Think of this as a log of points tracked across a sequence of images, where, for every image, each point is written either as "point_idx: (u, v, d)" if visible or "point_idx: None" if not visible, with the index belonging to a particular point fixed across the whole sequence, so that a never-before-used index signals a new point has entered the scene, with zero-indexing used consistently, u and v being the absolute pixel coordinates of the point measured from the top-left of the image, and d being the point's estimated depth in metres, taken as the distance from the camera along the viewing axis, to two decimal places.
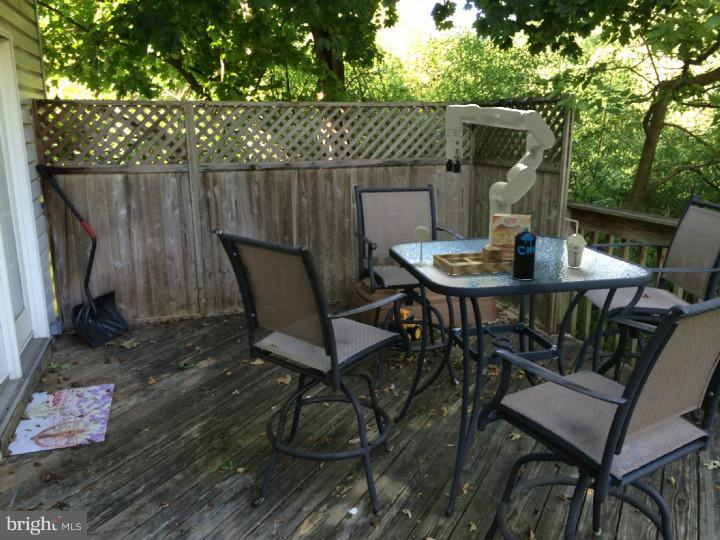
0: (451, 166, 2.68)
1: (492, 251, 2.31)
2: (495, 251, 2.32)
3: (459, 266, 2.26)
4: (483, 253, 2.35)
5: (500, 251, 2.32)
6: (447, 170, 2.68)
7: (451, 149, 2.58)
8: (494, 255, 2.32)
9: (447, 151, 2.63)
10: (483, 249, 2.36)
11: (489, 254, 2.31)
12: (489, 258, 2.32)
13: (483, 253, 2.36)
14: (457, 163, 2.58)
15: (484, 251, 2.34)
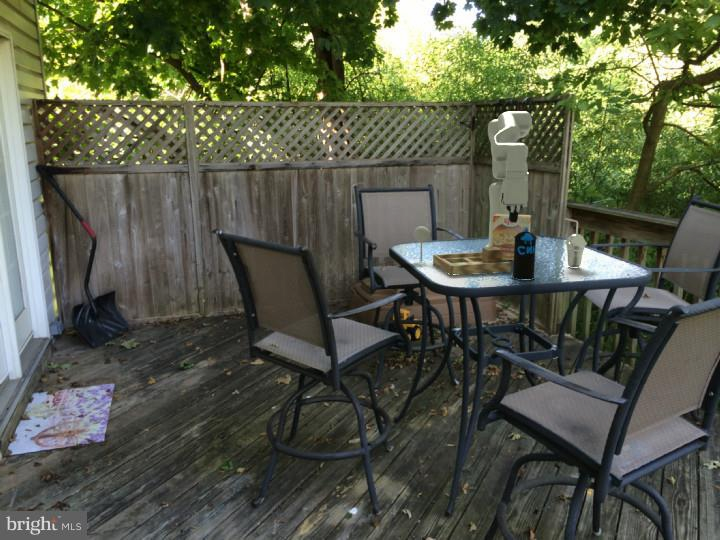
0: None
1: (492, 251, 2.31)
2: (495, 251, 2.32)
3: (459, 266, 2.26)
4: (483, 253, 2.35)
5: (500, 251, 2.32)
6: None
7: (525, 193, 2.29)
8: (494, 255, 2.32)
9: (513, 196, 2.29)
10: (483, 249, 2.36)
11: (489, 254, 2.31)
12: (489, 258, 2.32)
13: (483, 253, 2.36)
14: None
15: (484, 251, 2.34)
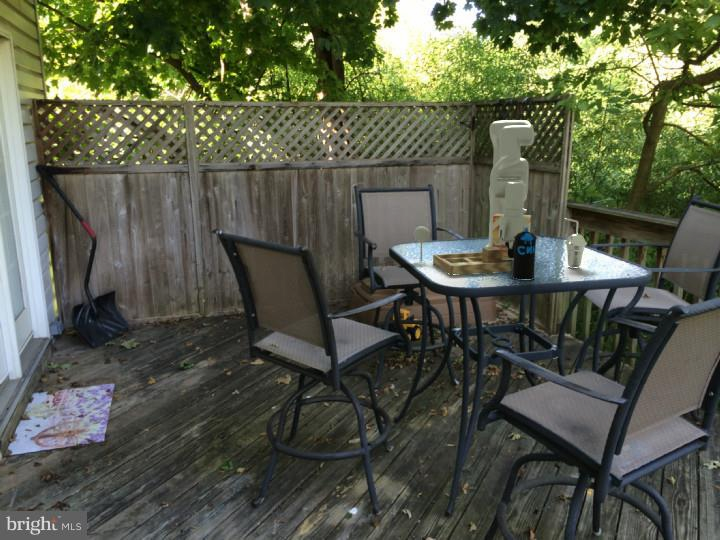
0: None
1: (492, 251, 2.31)
2: (495, 251, 2.32)
3: (459, 266, 2.26)
4: (483, 253, 2.35)
5: (500, 251, 2.32)
6: None
7: None
8: (494, 255, 2.32)
9: (511, 233, 2.32)
10: (483, 249, 2.36)
11: (489, 254, 2.31)
12: (489, 258, 2.32)
13: (483, 253, 2.36)
14: None
15: (484, 251, 2.34)
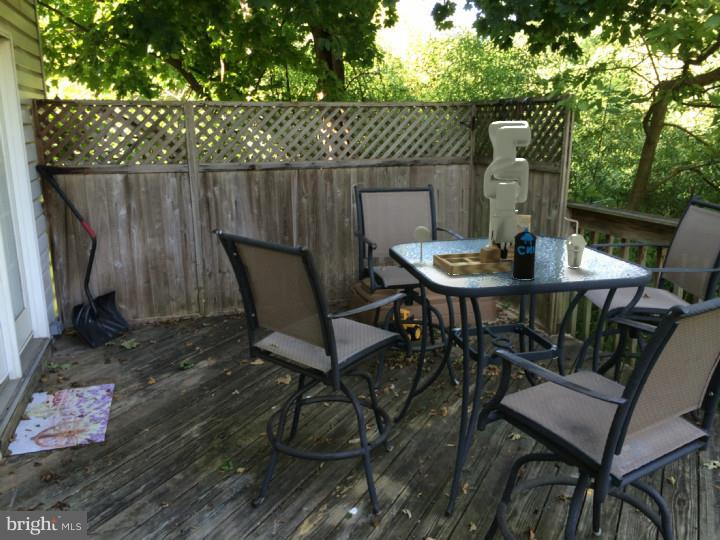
0: None
1: (490, 251, 2.31)
2: (493, 251, 2.31)
3: (459, 266, 2.26)
4: (482, 253, 2.35)
5: (498, 251, 2.32)
6: None
7: (514, 231, 2.32)
8: (492, 255, 2.32)
9: (503, 234, 2.31)
10: (481, 249, 2.35)
11: (487, 254, 2.31)
12: (487, 258, 2.31)
13: (481, 253, 2.36)
14: None
15: (483, 251, 2.34)
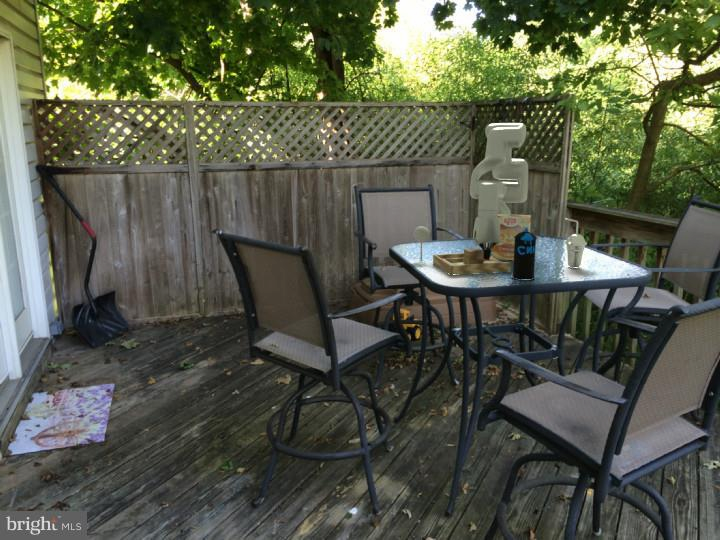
0: None
1: (473, 252, 2.29)
2: (476, 252, 2.30)
3: (459, 266, 2.26)
4: (465, 254, 2.33)
5: (481, 252, 2.30)
6: None
7: (497, 231, 2.30)
8: (475, 256, 2.30)
9: (486, 234, 2.30)
10: (464, 250, 2.34)
11: (470, 255, 2.29)
12: (470, 259, 2.30)
13: (464, 254, 2.34)
14: None
15: (466, 252, 2.32)
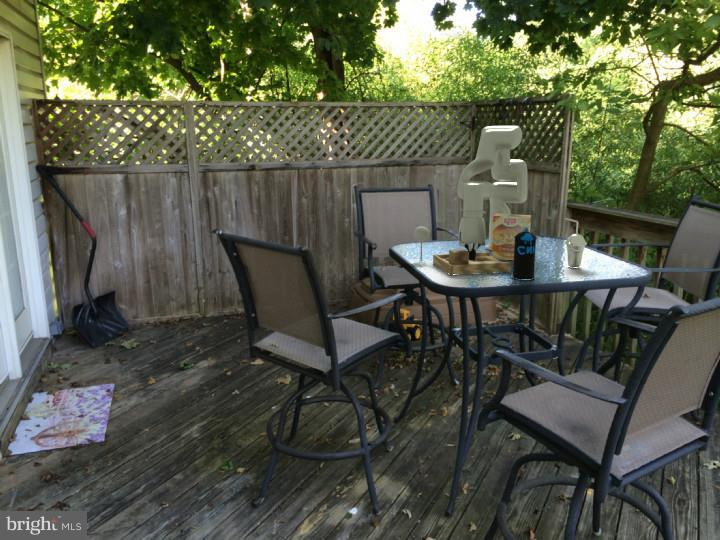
0: None
1: (458, 253, 2.28)
2: (461, 253, 2.28)
3: (459, 266, 2.26)
4: (450, 255, 2.32)
5: (467, 253, 2.29)
6: None
7: (482, 232, 2.29)
8: (460, 257, 2.29)
9: (471, 235, 2.28)
10: (450, 251, 2.32)
11: (455, 256, 2.28)
12: (455, 260, 2.28)
13: (450, 255, 2.32)
14: None
15: (451, 253, 2.31)
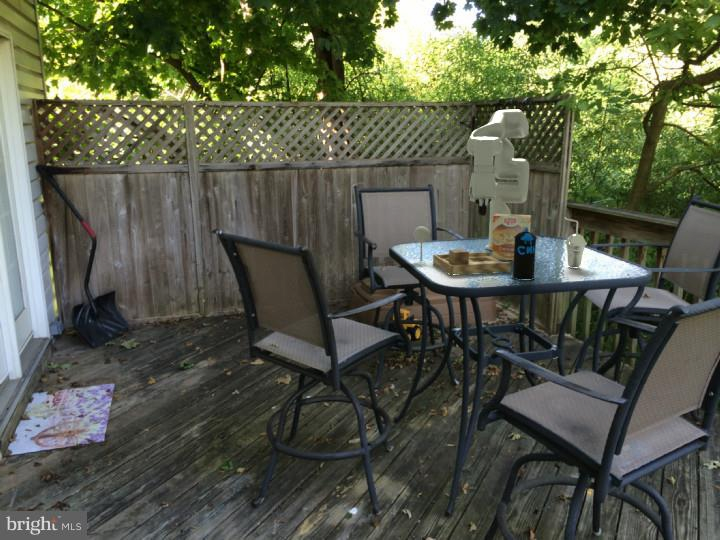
0: None
1: (458, 253, 2.28)
2: (461, 253, 2.28)
3: (459, 266, 2.26)
4: (450, 255, 2.32)
5: (467, 253, 2.29)
6: None
7: (493, 187, 2.33)
8: (460, 257, 2.29)
9: (481, 190, 2.32)
10: (450, 251, 2.32)
11: (455, 256, 2.28)
12: (455, 260, 2.28)
13: (450, 255, 2.32)
14: None
15: (451, 253, 2.31)
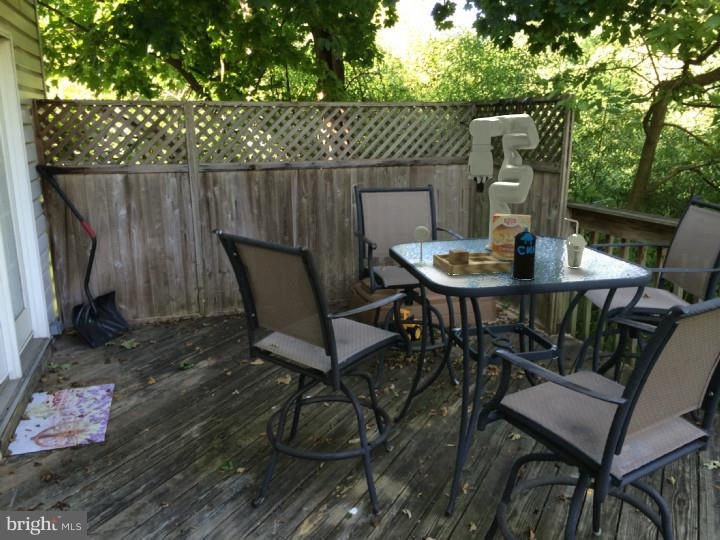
0: None
1: (458, 253, 2.28)
2: (461, 253, 2.28)
3: (459, 266, 2.26)
4: (450, 255, 2.32)
5: (467, 253, 2.29)
6: None
7: (490, 165, 2.46)
8: (460, 257, 2.29)
9: (479, 168, 2.45)
10: (450, 251, 2.32)
11: (455, 256, 2.28)
12: (455, 260, 2.28)
13: (450, 255, 2.32)
14: None
15: (451, 253, 2.31)
